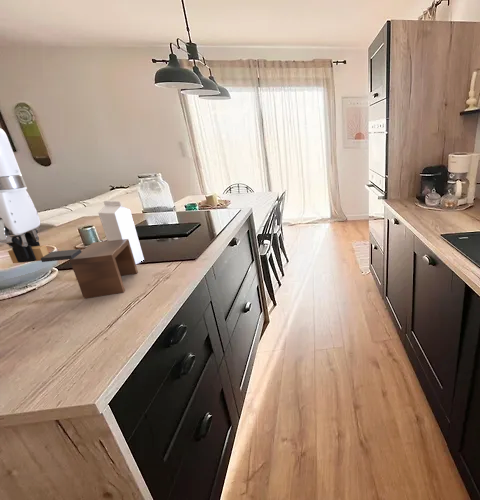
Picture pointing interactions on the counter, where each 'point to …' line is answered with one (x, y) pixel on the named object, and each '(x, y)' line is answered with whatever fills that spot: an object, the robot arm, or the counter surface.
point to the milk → (120, 226)
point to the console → (103, 267)
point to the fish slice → (48, 254)
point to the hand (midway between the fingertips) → (31, 258)
